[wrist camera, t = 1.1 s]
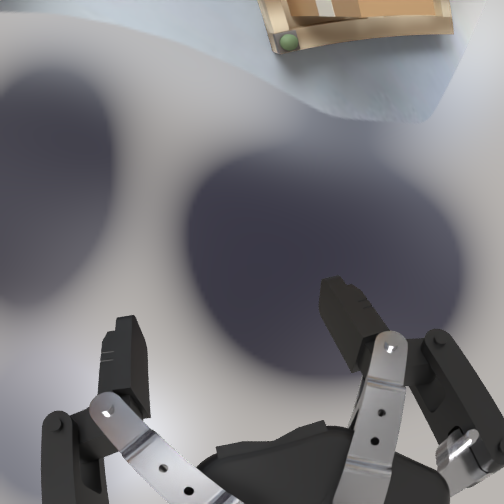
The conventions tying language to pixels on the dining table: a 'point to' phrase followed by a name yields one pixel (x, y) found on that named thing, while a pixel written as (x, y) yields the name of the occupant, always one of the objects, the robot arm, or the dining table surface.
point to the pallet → (345, 26)
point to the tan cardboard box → (360, 8)
